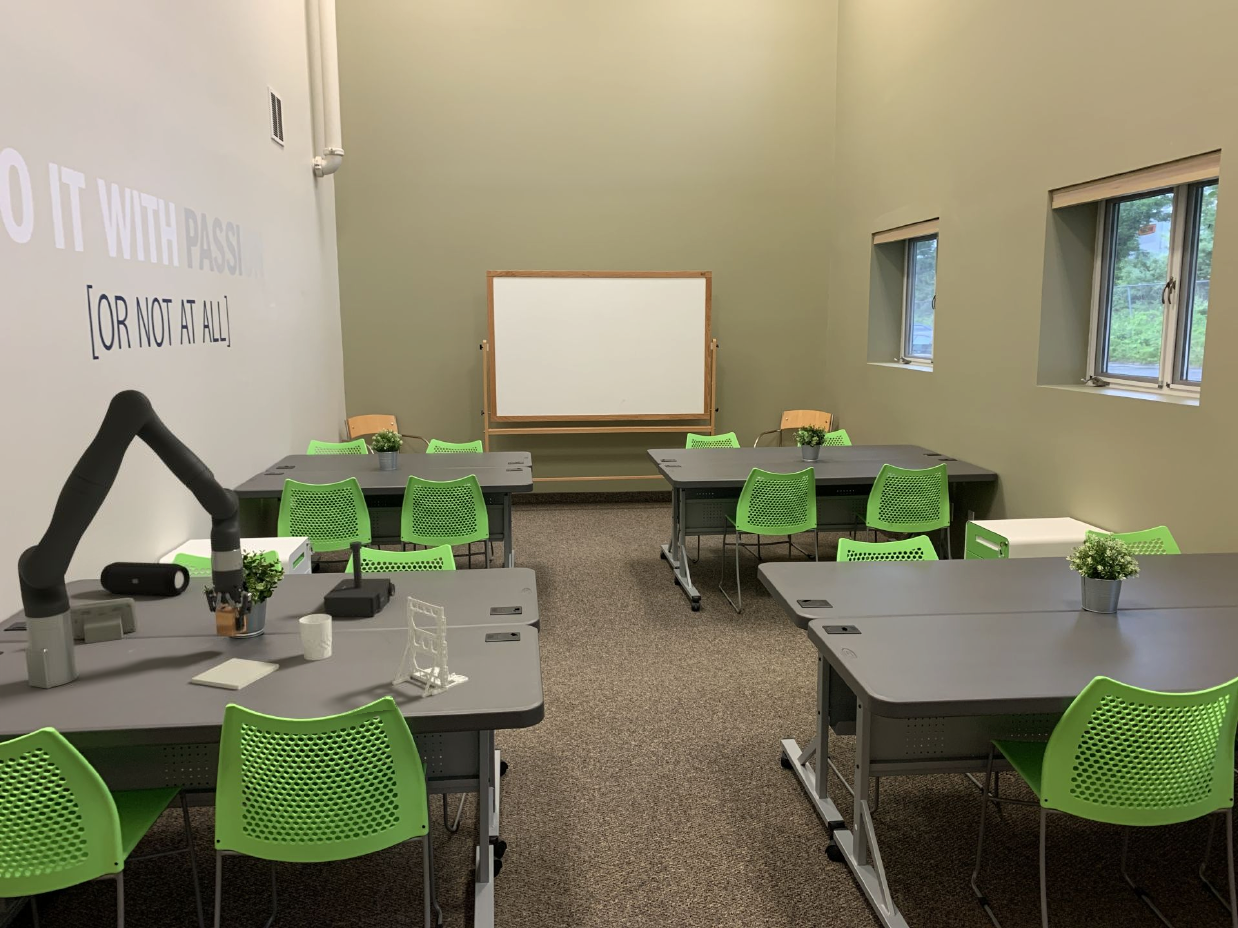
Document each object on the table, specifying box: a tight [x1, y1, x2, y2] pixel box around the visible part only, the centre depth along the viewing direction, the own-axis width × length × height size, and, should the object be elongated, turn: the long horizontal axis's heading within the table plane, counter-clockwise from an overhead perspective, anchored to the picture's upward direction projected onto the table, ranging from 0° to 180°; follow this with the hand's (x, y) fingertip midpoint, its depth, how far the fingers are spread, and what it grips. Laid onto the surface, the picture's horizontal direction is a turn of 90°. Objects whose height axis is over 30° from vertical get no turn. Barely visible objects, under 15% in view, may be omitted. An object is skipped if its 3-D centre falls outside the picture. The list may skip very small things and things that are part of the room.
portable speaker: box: [100, 561, 191, 596], centre depth 294 cm, size 26×10×10 cm, turn 81°
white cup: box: [298, 613, 333, 662], centre depth 237 cm, size 8×8×10 cm
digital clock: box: [70, 597, 139, 644], centre depth 253 cm, size 16×9×11 cm, turn 102°
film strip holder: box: [391, 596, 469, 698], centre depth 218 cm, size 14×14×20 cm
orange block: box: [214, 606, 247, 637], centre depth 241 cm, size 5×5×6 cm
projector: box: [323, 541, 396, 618], centre depth 276 cm, size 19×17×20 cm
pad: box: [191, 657, 280, 690], centre depth 225 cm, size 14×14×1 cm
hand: (231, 628), depth 241 cm, fingers closed on orange block, 5 cm apart
